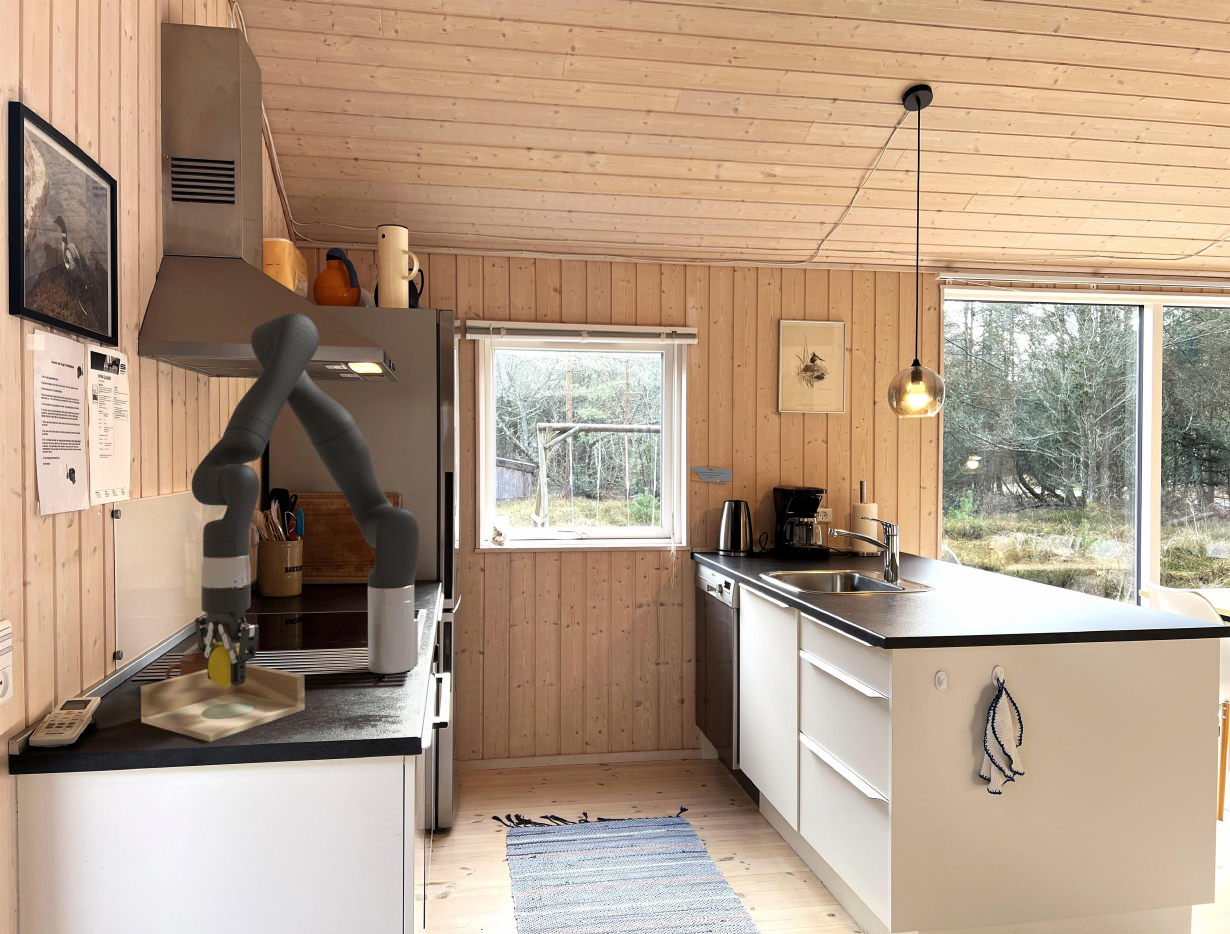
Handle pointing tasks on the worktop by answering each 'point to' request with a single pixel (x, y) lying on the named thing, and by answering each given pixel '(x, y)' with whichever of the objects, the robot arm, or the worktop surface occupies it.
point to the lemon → (220, 666)
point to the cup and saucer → (189, 664)
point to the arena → (221, 702)
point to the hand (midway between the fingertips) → (226, 681)
